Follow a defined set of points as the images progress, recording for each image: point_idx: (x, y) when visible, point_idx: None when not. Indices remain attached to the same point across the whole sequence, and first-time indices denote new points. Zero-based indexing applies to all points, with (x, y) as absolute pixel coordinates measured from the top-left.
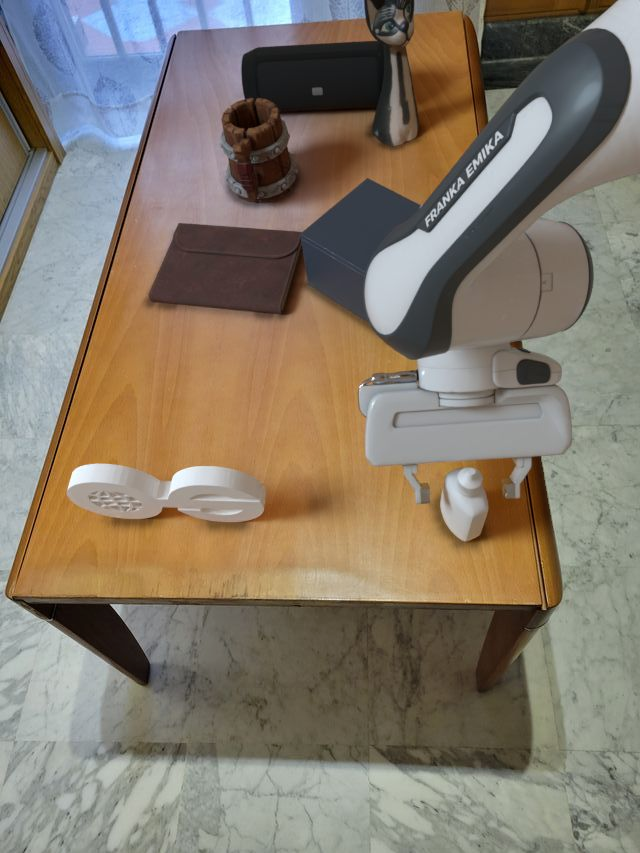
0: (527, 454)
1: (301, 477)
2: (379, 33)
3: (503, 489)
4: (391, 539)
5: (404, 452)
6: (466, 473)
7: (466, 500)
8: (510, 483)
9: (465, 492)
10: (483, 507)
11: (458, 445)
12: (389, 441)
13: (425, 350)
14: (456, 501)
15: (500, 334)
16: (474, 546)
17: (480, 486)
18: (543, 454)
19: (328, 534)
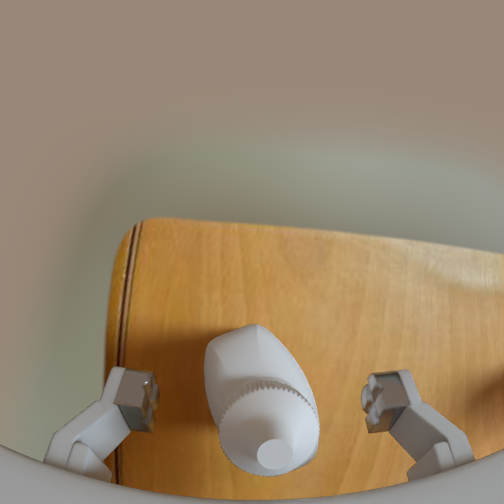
0: (43, 471)
1: (493, 435)
2: None
3: (153, 402)
4: (387, 340)
5: (500, 490)
6: (293, 449)
7: (275, 370)
8: (126, 406)
9: (287, 385)
10: (222, 346)
11: None
12: None
13: None
14: (302, 373)
15: None
16: (236, 319)
17: (230, 401)
18: (4, 451)
19: (473, 346)
